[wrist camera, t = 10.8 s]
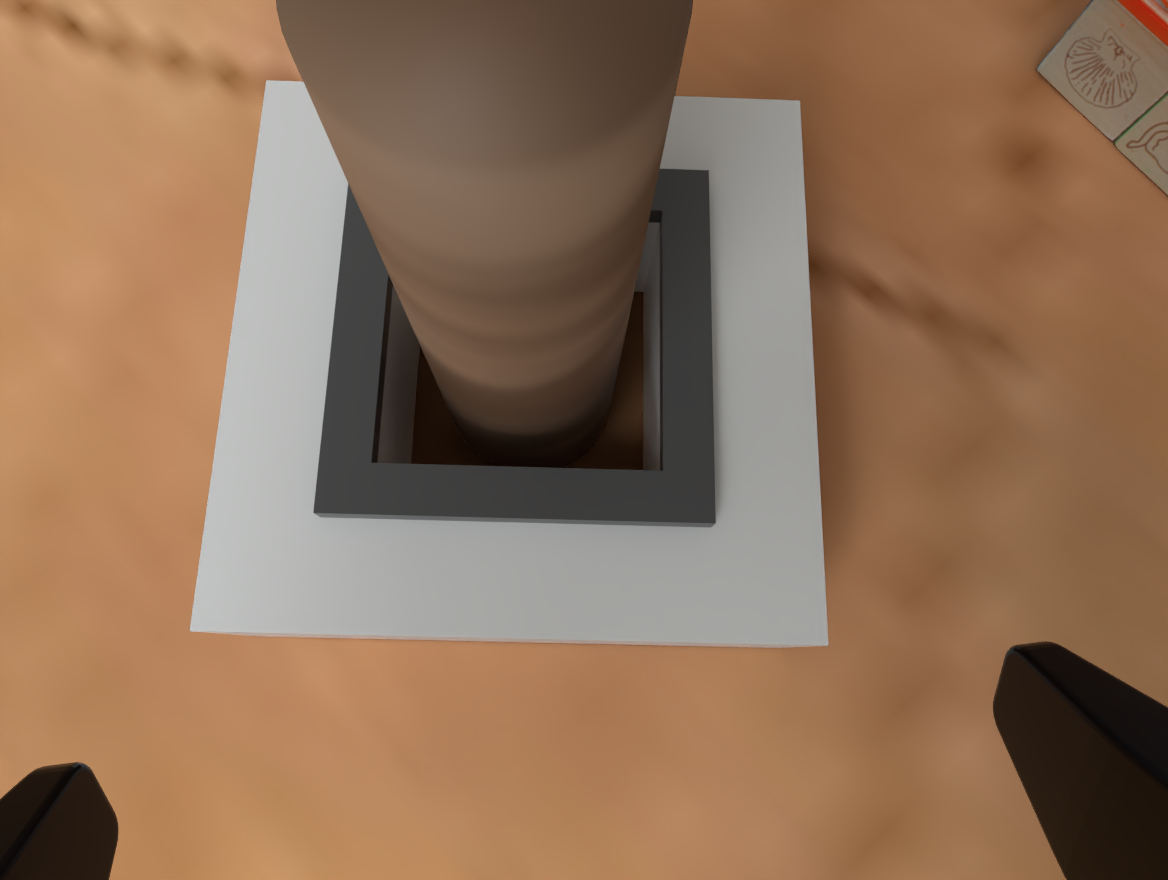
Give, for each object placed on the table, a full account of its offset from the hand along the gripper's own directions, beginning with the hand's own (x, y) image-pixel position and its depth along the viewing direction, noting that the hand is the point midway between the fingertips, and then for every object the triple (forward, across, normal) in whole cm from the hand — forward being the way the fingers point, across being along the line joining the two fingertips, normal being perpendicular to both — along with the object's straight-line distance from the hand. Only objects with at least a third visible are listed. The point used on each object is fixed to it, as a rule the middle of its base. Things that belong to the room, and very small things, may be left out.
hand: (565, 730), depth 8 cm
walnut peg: (+13, 0, +3) cm, 13 cm away
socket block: (+13, 0, +3) cm, 13 cm away
